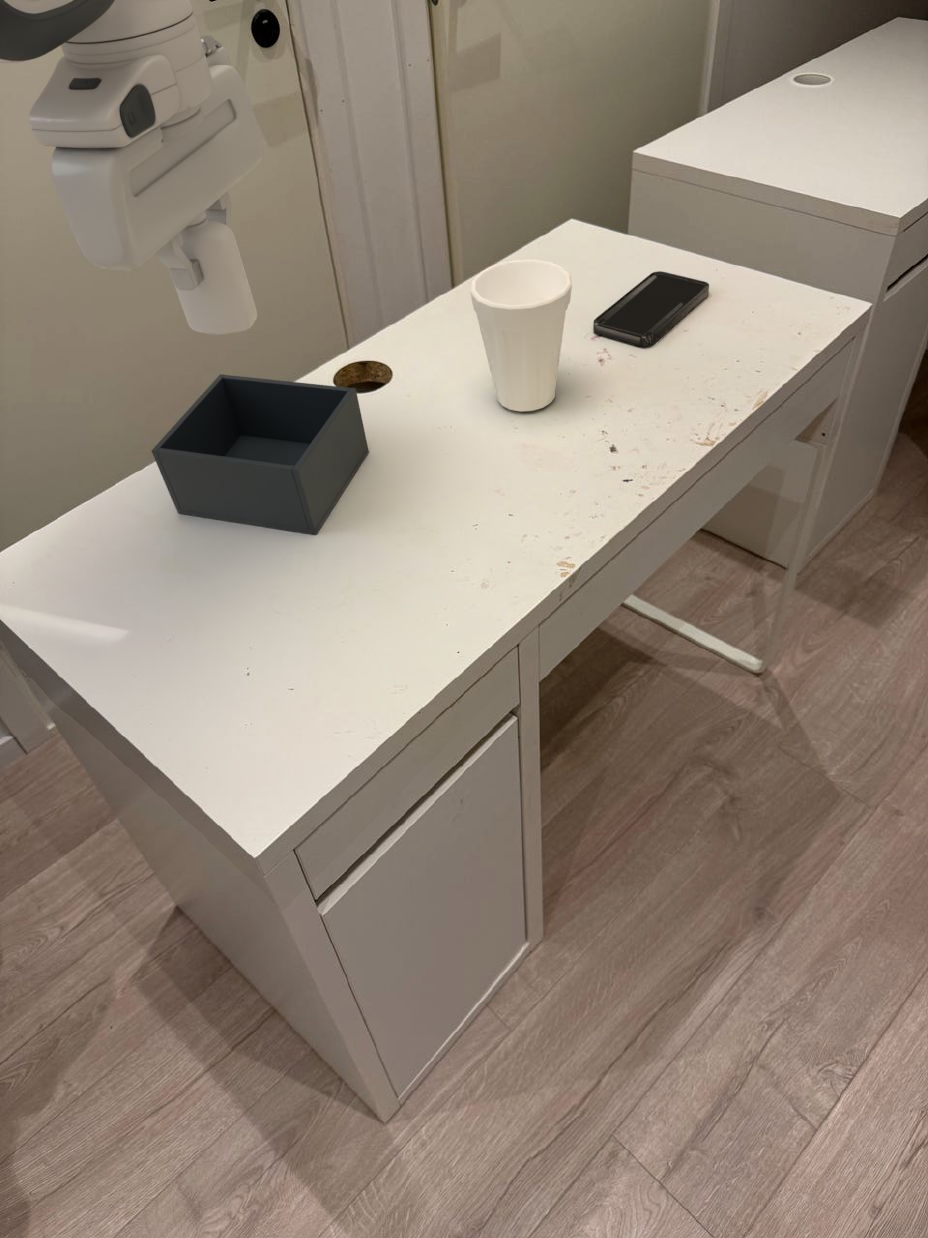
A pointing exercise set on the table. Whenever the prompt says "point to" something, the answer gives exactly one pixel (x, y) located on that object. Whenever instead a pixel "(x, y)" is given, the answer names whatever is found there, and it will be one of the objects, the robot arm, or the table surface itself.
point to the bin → (264, 452)
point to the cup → (522, 328)
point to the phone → (651, 308)
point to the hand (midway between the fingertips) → (206, 271)
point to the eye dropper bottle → (216, 280)
